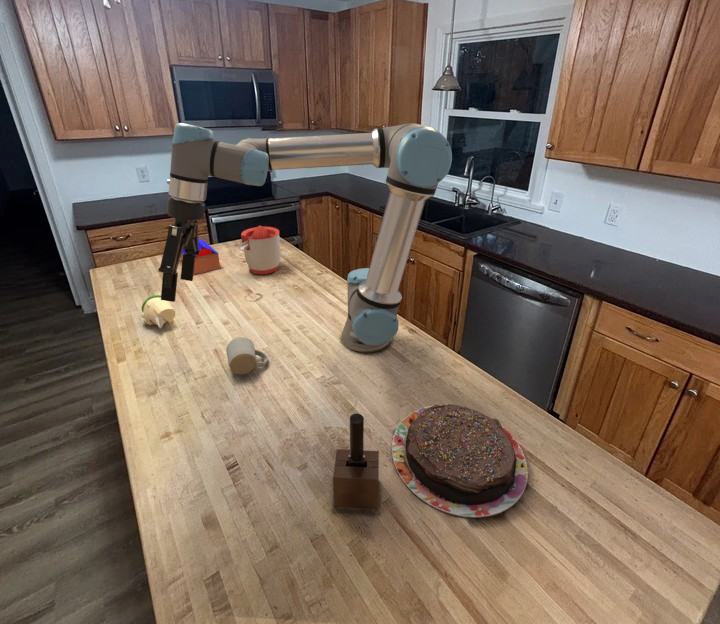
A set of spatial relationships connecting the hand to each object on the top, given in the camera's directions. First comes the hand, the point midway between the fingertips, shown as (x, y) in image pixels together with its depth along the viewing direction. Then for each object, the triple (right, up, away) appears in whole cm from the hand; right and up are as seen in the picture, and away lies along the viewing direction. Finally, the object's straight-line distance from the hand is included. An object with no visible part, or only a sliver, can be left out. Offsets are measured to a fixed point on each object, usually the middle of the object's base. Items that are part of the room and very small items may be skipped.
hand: (177, 289), depth 90 cm
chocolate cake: (+63, -35, -8) cm, 73 cm away
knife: (+42, -38, -16) cm, 59 cm away
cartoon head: (-26, -12, +41) cm, 50 cm away
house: (-29, +7, +83) cm, 89 cm away
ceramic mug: (+11, -23, +20) cm, 32 cm away
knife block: (+42, -39, -16) cm, 59 cm away
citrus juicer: (0, +5, +78) cm, 78 cm away
